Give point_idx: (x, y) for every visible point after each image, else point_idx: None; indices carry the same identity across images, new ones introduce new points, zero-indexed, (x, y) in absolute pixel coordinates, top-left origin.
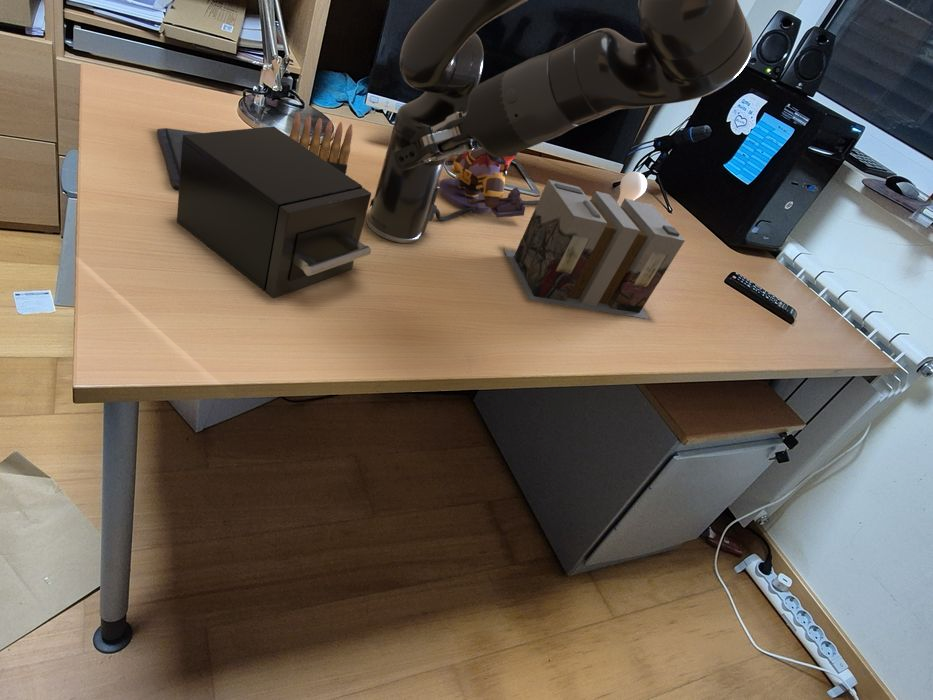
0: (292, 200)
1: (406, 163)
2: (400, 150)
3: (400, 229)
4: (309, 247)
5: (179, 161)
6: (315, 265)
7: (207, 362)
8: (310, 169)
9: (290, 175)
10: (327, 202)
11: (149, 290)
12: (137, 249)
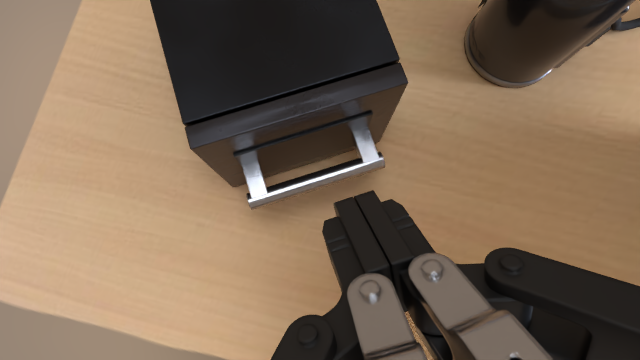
0: (216, 111)
1: (336, 276)
2: (341, 218)
3: (505, 71)
4: (271, 156)
5: None
6: (260, 200)
7: (100, 290)
8: (312, 2)
9: (258, 25)
10: (288, 116)
11: (95, 145)
12: (115, 65)
